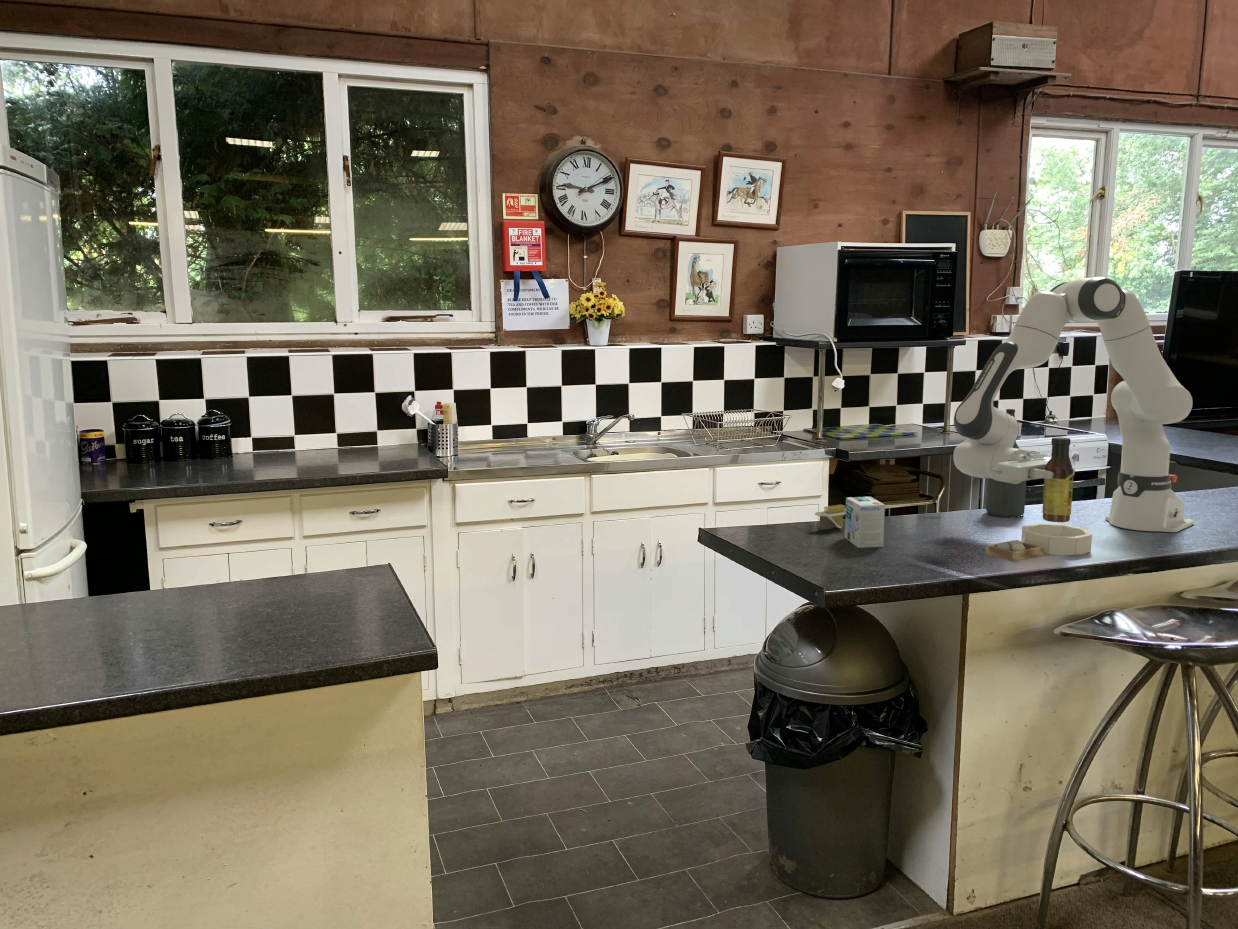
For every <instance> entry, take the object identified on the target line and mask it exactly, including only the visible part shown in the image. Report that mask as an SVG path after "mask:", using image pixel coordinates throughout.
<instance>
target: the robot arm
mask: <svg viewBox="0 0 1238 929" xmlns="http://www.w3.org/2000/svg"><path fill="white" fill-rule="evenodd" d="M1091 321H1094V322H1095V323H1096V324H1097V326H1098V327H1099V330H1100V334H1101V337H1102V339H1103V340H1102V341H1103V344H1104V345H1105V349H1106V351H1107V354H1108V357H1109V360H1110V364H1111V366H1112V367H1113V369H1114V370H1115V371H1116V372H1117V373H1118V375H1120V377H1121V378H1122V379H1123V380H1122V381H1120V382H1119V383H1118V384H1117V385H1115V386H1114V387H1113V389H1112V391H1111V394H1110V402H1111V405H1112V407H1113V408H1114V410H1115V413H1116V414H1117V419H1118V423H1119V424H1118V425H1119V430H1120V436H1121V461H1120V462H1121V464H1120V471H1119V472H1118V476H1117V485H1118V487H1117V488H1116V489H1114V491H1113V493H1112V498H1111V505H1110V509H1109V511H1110V512H1109V514H1108V515H1105V519H1104V520H1106V521H1108V522H1109V524H1110V525H1112V526H1115V527H1117V528H1122V529H1125V530H1126V529H1128V530H1132V531H1133V530H1134V531H1140V532H1141V531H1143V532H1164V533H1177V532H1180V531H1182V530H1184V529H1187V528H1188V527H1191V526H1193V525H1194V523H1195V521H1194V520H1193V519H1191V518H1188V517H1185V503H1184V501H1183V500H1182V499H1181V498H1180V497H1179V496H1178V495H1177V493H1176V492H1174V490H1172V483H1176V482H1177V479H1178V476H1177V475H1176V474H1170V473H1169V470H1170V458H1171V444H1170V441H1169V440H1168V438H1167V437H1166V434H1165V431H1164V426H1163V425H1169V424H1174V423H1180V422H1181V421H1184V420H1185V419H1186V418H1187V417H1188V416H1189V414H1190V413H1191V411H1192V408H1193V403H1194V402H1193V396H1192V395H1191V392H1190V391H1189V390H1187V389H1186V388H1185V387H1184V385H1182V384H1181V383H1180V381H1179V380H1178V379H1177V377H1176V376H1175V375H1174V373H1173V372H1172V370H1171V368H1170V366H1169V365H1167V362H1166V360H1165V359H1164V358H1163V356H1162V353H1161V352H1160V350H1159V349H1160V348H1159V347H1158V344H1157V342H1156V339H1155V335H1154V333H1153V329H1152V327H1151V325H1150V322H1149V318H1148V316H1147V314H1146V312H1145V310H1144V308H1143V306H1142V304H1141V302H1140V300H1139V299H1138V297H1137V295H1135V293H1134V292H1132V291H1131V290H1128V289H1127V290H1126V289H1122V288H1121V286H1120V285H1119V284H1118V283H1117V282H1116V281H1115V280H1113V279H1111V278H1108V277H1104V276H1094V277H1082V278H1077V279H1075V280H1071V281H1070V280H1069V281H1064V282H1061V283H1059V284H1057V285H1055V286H1053V288H1052V289H1050V290H1049V291H1047V290H1046V291H1045V290H1043V291H1038V292H1036V293H1035V292H1034V293H1033V294H1032V295H1031V297H1030V298H1029V299H1028V300H1027V302H1026V304H1025V305H1024V306H1023V308H1022V310H1021V311H1020V314H1019V315H1018V317H1017V319H1016V321H1015V324H1014V326H1013V328H1012V330H1011V332H1010V334H1009V336H1008V337H1007V339H1006V340H1005V341H1004V342H1003V343H1000V344H999V345H998V346H997V347H996V348H995V349H994V351H993V352H992V353H991V355H990V357H989V358H988V359H987V361H986V363H985V364H984V366H983V369H982V370H981V372H980V374H979V375H978V376H977V379H976V380H975V382H974V383H973V386H972V388H971V389H970V391H969V392H968V394H967V395H966V396H965V398H963V400H962V401H961V403H960V404H959V405H958V406H957V408H956V409H955V412H954V414H953V426H954V429H955V430H956V432H957V434H959V435H960V436H962V437H964V438H966V440H963V442H961V443H958V444H957V445H956V446H955V448H954V449H953V454H952V457H953V464H954V466H955V467H956V468H957V469H958V470H959V471H960V472H961V473H963V474H965V475H968V476H971V477H974V478H980V479H986V480H987V479H988V478H992V479H994V480H996V481H1001V482H1006V483H1012V484H1018V483H1020V482H1022V481H1026V482H1027V481H1031V480H1039V479H1044V478H1045V479H1053V478H1055V472H1054V471H1050V470H1047V471H1046V470H1045V468H1046V464H1047V463H1048V462H1049V460H1050V459H1051V457H1052V456H1051V454H1044V453H1041V452H1040V451H1039V450H1031V449H1030V450H1026V449H1022V448H1019V449H1017V448H1013V446H1014V444H1015V442H1016V443H1017V439H1018V436H1019V434H1020V425H1019V422H1018V420H1017V419H1016V417H1015V418H1014V417H1013V416H1011V415H1009V414H1007V413H1006V411H1004V410H1001V409H999V408H997V407H995V406H994V401H995V399H996V397H997V395H998V393H999V391H1000V389H1001V388H1002V386H1003V384H1004V383H1005V381H1006V379H1007V378H1008V376H1009V375H1010V374H1011V373H1012V372H1013V371H1016V370H1020V369H1032V368H1033V369H1034V368H1037V367H1039V366H1041V365H1043V364H1045V363H1046V362H1047V361H1048V360H1049V359H1050V358H1051V356H1052V354H1053V352H1054V350H1055V348H1056V345H1057V343H1058V342H1059V339H1060V336H1061V334H1062V331H1063V329H1064V327H1065V326H1066V325H1067V324H1069V323H1074V324H1075V323H1076V324H1080V323H1082V324H1083V323H1087V322H1091ZM1072 468H1073V467H1072ZM1073 471H1074V474H1073V476H1075V471H1076V470H1075V468H1073Z"/></svg>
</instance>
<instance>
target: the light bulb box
mask: <svg viewBox="0 0 1238 929" xmlns="http://www.w3.org/2000/svg"><path fill="white" fill-rule="evenodd" d="M845 509H846V514H845V517H844V518H845V519H844V520H845V523H844V524H845V525H844V538H845V539H846V540H847V541H849V543H851V544H852V545H854V546H855V547H856V548H858V549H860V548H862V549H863V548H884V535H885V534H884V533H885V511H886V505H885V504H884V503H882V502H881V501H879V500H878V499H876V498H874V497H872V496H855V497H854V496H853V497H852V496H850V497H845Z"/></svg>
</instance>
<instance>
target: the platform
mask: <svg viewBox="0 0 1238 929" xmlns="http://www.w3.org/2000/svg"><path fill="white" fill-rule="evenodd" d="M814 515H815V516H818V517H819V527H818V528H819V531H823V530H829V529H830V530H831V529H834V528H835V529H836V528H837V529H843V528H844V527H843V525H844V520H843V519H844V515H846V505H843V504H836V505H829V506H824V511H817V512H815V513H814Z"/></svg>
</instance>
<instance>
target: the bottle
mask: <svg viewBox="0 0 1238 929" xmlns="http://www.w3.org/2000/svg"><path fill="white" fill-rule="evenodd" d="M1005 413H1007V414H1009V415H1011V416H1013V417H1014V418H1015V419H1016V415H1015V413H1016V410H1015V409H1013V408H1007V409H1006V410H1005ZM1013 448H1017V449H1020V447H1019V446H1018V443H1017V441H1016V442H1015V444H1014V446H1013ZM986 480H987V483H986V500H985V510H986V513H987V514H988V516H989V515H990V516H993V517H997V518H1008V519H1009V518H1010V519H1012V518H1011V517H1016V518H1019V517H1018V516H1020V517H1022V516H1021V515H1024V514H1025V508H1026V493H1027V491H1026V490H1027V489H1026V488H1027V480H1026V481H1022V482H1020V483H1018V484H1012V483H1006V482H1001V481H996V480H994V479H992V478H988V479H986Z"/></svg>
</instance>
